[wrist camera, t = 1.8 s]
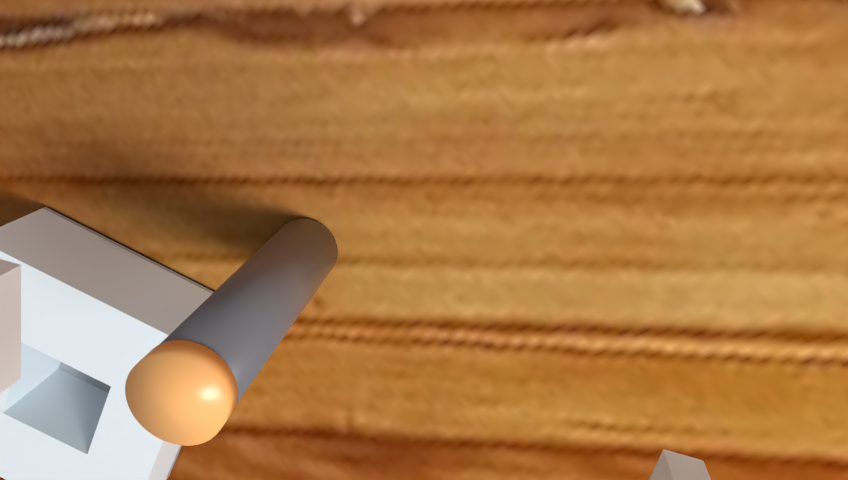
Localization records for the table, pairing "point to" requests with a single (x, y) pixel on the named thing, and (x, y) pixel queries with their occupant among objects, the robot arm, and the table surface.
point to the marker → (229, 337)
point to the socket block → (84, 352)
